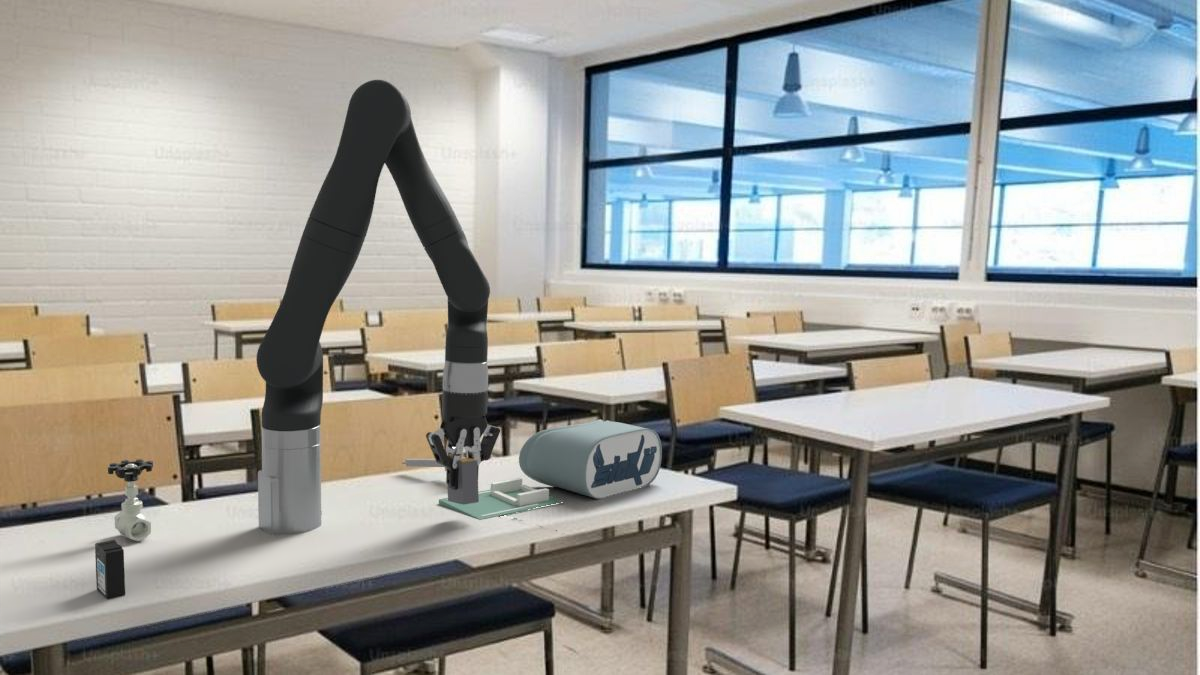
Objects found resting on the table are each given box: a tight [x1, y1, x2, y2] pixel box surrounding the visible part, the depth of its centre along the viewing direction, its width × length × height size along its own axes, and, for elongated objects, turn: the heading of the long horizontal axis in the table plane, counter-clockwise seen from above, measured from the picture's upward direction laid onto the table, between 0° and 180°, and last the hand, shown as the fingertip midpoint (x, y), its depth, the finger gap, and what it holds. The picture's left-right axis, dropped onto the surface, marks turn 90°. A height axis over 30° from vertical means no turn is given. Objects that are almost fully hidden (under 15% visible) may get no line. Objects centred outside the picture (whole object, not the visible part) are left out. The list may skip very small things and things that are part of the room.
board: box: [438, 477, 565, 521], centre depth 167 cm, size 18×14×3 cm
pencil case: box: [518, 418, 663, 500], centre depth 181 cm, size 22×19×13 cm
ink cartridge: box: [94, 539, 126, 600], centre depth 120 cm, size 5×2×8 cm, turn 43°
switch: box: [447, 457, 479, 505], centre depth 155 cm, size 3×5×8 cm, turn 40°
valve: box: [107, 458, 154, 542], centre depth 145 cm, size 7×7×12 cm
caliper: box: [401, 451, 467, 472], centre depth 185 cm, size 20×1×6 cm, turn 51°
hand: (462, 486), depth 155 cm, fingers closed on switch, 2 cm apart
